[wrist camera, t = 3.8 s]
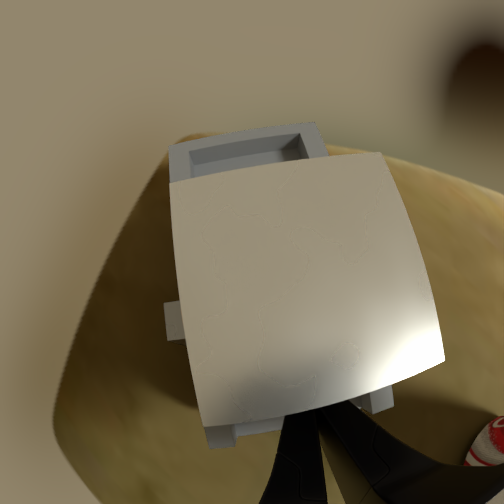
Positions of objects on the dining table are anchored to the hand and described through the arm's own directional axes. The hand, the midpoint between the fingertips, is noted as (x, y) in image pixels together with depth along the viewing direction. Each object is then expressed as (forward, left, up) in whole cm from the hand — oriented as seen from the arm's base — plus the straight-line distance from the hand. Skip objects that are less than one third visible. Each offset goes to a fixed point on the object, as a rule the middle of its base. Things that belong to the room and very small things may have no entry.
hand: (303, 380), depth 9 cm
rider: (+3, +2, -4) cm, 5 cm away
